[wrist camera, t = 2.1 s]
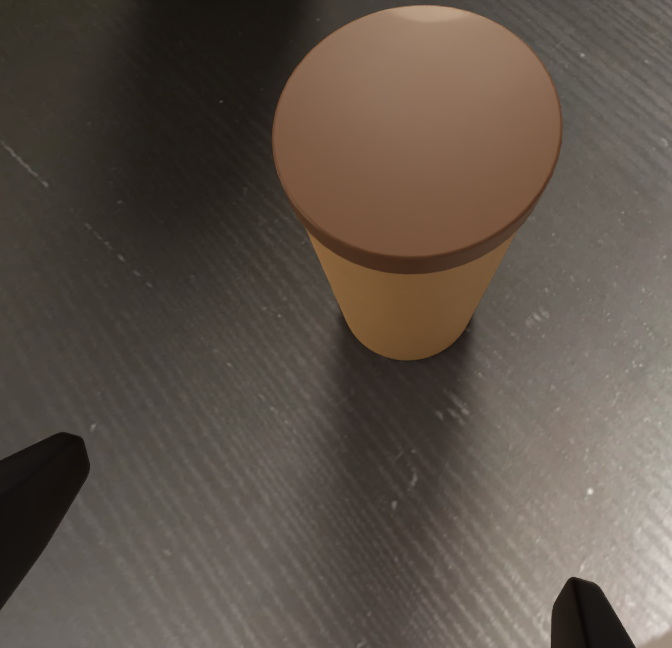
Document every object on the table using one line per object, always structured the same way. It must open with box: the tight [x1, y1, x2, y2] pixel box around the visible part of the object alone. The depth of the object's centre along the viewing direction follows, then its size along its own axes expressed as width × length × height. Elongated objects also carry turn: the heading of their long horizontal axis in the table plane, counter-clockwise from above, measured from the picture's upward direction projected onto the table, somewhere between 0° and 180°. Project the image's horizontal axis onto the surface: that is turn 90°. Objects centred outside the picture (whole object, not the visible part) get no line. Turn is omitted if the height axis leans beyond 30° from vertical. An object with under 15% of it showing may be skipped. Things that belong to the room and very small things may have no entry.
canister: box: [272, 5, 563, 360], centre depth 17 cm, size 6×6×13 cm
